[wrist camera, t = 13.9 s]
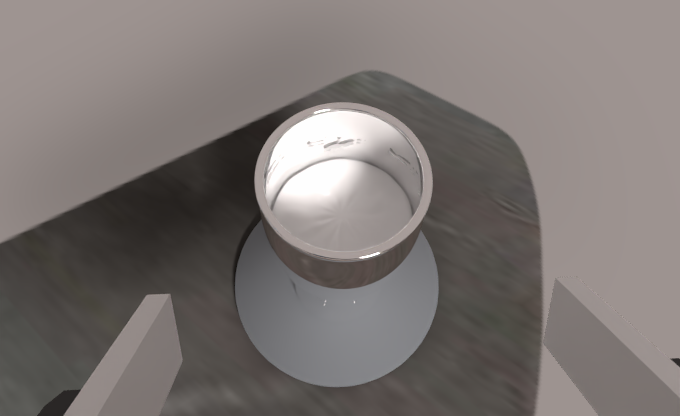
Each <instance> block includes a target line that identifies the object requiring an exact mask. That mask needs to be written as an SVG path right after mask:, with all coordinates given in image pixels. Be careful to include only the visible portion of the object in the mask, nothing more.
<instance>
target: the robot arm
mask: <svg viewBox="0 0 680 416" xmlns="http://www.w3.org/2000/svg"><path fill="white" fill-rule="evenodd" d="M543 343H544V345H545V346H546V347H547V349H548V350H549V351H550V353H551V354H552V355H553V357H554V358H555V359H556V360H557V362H558V363H559V364H560V366H561V367H562V368H563V369H564V371H565V372H566V373H567V375H568V376H569V377H570V379H571V380H572V381H573V383H574V384H575V385H576V387H577V388H578V389H579V391H580V392H581V393H582V394H583V396H584V397H585V398H586V400H587V401H588V402H589V404H590V405H591V406H592V407H593V409H594V410H595V411H596V413H597V414H598V415H599V416H680V359H679V358H676V359H670V358H669V357H667V356H666V355H665V354H664V353H663V352H662V351H661V350H660V349H658V348H657V347H656V346H655V345H654V344H653V343H652V342H650V341H649V340H648V339H647V338H646V337H645V336H644V335H643V334H641V333H640V332H639V331H638V330H637V329H636V328H634V327H633V326H632V325H631V324H630V323H629V322H628V321H627V320H625V319H624V318H623V317H622V316H621V315H620V314H619V313H618V312H616V311H615V310H614V309H613V308H612V307H611V306H610V305H608V304H607V303H606V302H605V301H604V300H603V299H601V297H599V296H598V295H597V294H596V293H595V292H594V291H593V290H591V289H590V288H589V287H588V286H587V285H586V284H585V283H584V282H582V281H581V280H580V279H579V278H578V277H558V278H555V283H554V288H553V293H552V299H551V304H550V310H549V315H548V320H547V326H546V331H545V337H544V342H543ZM182 361H183V360H182V354H181V349H180V344H179V338H178V333H177V328H176V322H175V317H174V311H173V306H172V301H171V295H170V294H155V295H146V297H145V298H144V300H143V301H142V303H141V304H140V306H139V307H138V308H137V310H136V311H135V313H134V314H133V316H132V317H131V319H130V320H129V321H128V323H127V324H126V326H125V327H124V329H123V330H122V332H121V333H120V334H119V336H118V337H117V339H116V340H115V342H114V343H113V345H112V346H111V347H110V349H109V350H108V352H107V353H106V355H105V356H104V358H103V359H102V361H101V362H100V363H99V365H98V366H97V368H96V369H95V371H94V372H93V374H92V375H91V376H90V378H89V379H88V381H87V382H86V384H85V385H84V387H83V388H82V389H81V390H67V391H63V392H62V393H61V394H59V395H58V396H57V397H56V398H54V399H53V400H52V401H51V402H49V403H48V404H47V405H46V406H44V408H43V409H42V410H41V412H40V413H39V414H38V415H37V416H159V414H160V412H161V410H162V407H163V405H164V403H165V400H166V398H167V396H168V393H169V391H170V389H171V386H172V384H173V382H174V380H175V377H176V375H177V373H178V370H179V368H180V366H181V363H182Z"/></svg>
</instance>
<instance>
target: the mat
mask: <svg viewBox="0 0 680 416" xmlns="http://www.w3.org/2000/svg"><path fill="white" fill-rule="evenodd" d="M438 291H439V288H438V273H437V267H436V263H435V259H434V256H433V253H432V250H431V248H430V246H429V244H428V241H427V240H426V238H425V236H424V235H423V233H422V231H421V230H420V233H419V236H418V239H417V241H416V243H415V245H414V248H413V250H412V252H411V254H410V256H409V258H408V259H407V261H406V262H405V264H404V265H403V267H402V268H401V270H400V271H399V272H398V273H397V275H396V276H395V277H394V278H393V279H392V280H391V281H390V282H388V283H387V284H386V285H385V286H383V287H382V290H381V294H380V296H379V298H378V300H377V302H376V303H375V304H374V306H373V307H372V308H371V309H370V310H369V311H368V312H367V313H365V314H364V315H363V316H361V317H359V318H357V319H355V320H352V321H348V322H330V321H326V320H323V319H320V318H318V317H316V316H315V315H313V314H312V313H310V312H309V311H308V310H307V309H306V308H305V307H304V305H303V304H302V303H301V301H300V299H299V297H298V295H297V293H296V289H295V284H294V282H293V281H292V280H291V279H290V278H289V277H288V276H287V275H286V274H285V273H284V272H283V270H282V269H281V267H280V266H279V264H278V262H277V261H276V259H275V257H274V255H273V253H272V251H271V249H270V247H269V244H268V241H267V238H266V235H265V232H264V228H263V224H262V219H261V220H260V222H259V223H258V224H257V225H256V226H255V228H254V229H253V230H252V232H251V234H250V235H249V237H248V238H247V240H246V242H245V245H244V247H243V249H242V251H241V254H240V257H239V261H238V264H237V270H236V276H235V295H236V304H237V308H238V312H239V316H240V319H241V321H242V324H243V327H244V329H245V331H246V333H247V334H248V336H249V338H250V340H251V341H252V343H253V344H254V345H255V347H256V348H257V349H258V351H259V352H260V353H261V354H262V355H263V356H264V357H265V358H266V359H267V360H268V361H269V362H270V363H272V364H273V365H274V366H276V367H277V368H278V369H280V370H281V371H283V372H285V373H286V374H288V375H290V376H292V377H294V378H296V379H299V380H301V381H304V382H307V383H310V384H314V385H319V386H326V387H348V386H354V385H359V384H364V383H367V382H370V381H372V380H375V379H378V378H380V377H382V376H384V375H386V374H387V373H389V372H391V371H393V370H394V369H395V368H397V367H398V366H400V365H401V364H402V363H404V362H405V361H406V360H407V359H408V358H409V357H410V356H411V355H412V354H413V353H414V352H415V350H416V349H417V348H418V346H419V345H420V344H421V342H422V341H423V339H424V337H425V336H426V334H427V332H428V330H429V328H430V326H431V323H432V321H433V318H434V315H435V311H436V307H437V301H438Z"/></svg>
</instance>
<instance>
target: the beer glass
mask: <svg viewBox="0 0 680 416" xmlns="http://www.w3.org/2000/svg"><path fill="white" fill-rule="evenodd" d="M254 186H255V194H256V199H257V202H258V205H259V208H260V214H261V219H262V224H263V228H264V232H265V235H266V238H267V241H268V244H269V247H270V249H271V251H272V253H273V255H274V257H275V259H276V261H277V262H278V264H279V266H280V267H281V269H282V270H283V272H284V273H285V274H286V275H287V276H288V277H289V278H290V279H291V280H292V281H293V282H294V284H295V289H296V293H297V295H298V297H299V299H300V301H301V303H302V304H303V305H304V307H305V308H306V309H307V310H308V311H309V312H310V313H312V314H313V315H315V316H316V317H318V318H320V319H323V320H326V321H330V322H348V321H352V320H355V319H357V318H359V317H361V316H363V315H364V314H365V313H367V312H368V311H369V310H370V309H371V308H372V307H373V306H374V304H375V303H376V302H377V300H378V298H379V296H380V294H381V290H382V287H383V286H385V285H386V284H387V283H388V282H390V281H391V280H392V279H393V278H394V277H395V276H396V275H397V273H398V272H399V271H400V270H401V268H402V267H403V265H404V264H405V262H406V261H407V259H408V258H409V256H410V254H411V252H412V250H413V248H414V245H415V243H416V241H417V239H418V236H419V233H420V230H421V227H422V224H423V220H424V216H425V214H426V212H427V209H428V207H429V204H430V200H431V196H432V188H433V178H432V170H431V165H430V162H429V159H428V156H427V154H426V151H425V149H424V148H423V146H422V144H421V143H420V141H419V140H418V138H417V137H416V136H415V135H414V133H413V132H412V131H411V130H410V129H409V128H408V127H407V126H406V125H404V124H403V123H402V122H401V121H399V120H398V119H396V118H395V117H393V116H391V115H390V114H388V113H386V112H384V111H382V110H379V109H377V108H374V107H370V106H367V105H362V104H356V103H329V104H323V105H318V106H315V107H312V108H309V109H306V110H304V111H301V112H299V113H297V114H296V115H294V116H292V117H291V118H289V119H288V120H286V121H285V122H284V123H282V124H281V125H280V126H279V127H278V128H277V129H276V130H275V131H274V132H273V133H272V134H271V136H270V137H269V138H268V140H267V141H266V143H265V144H264V146H263V148H262V150H261V152H260V154H259V157H258V160H257V164H256V168H255V176H254Z"/></svg>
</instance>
